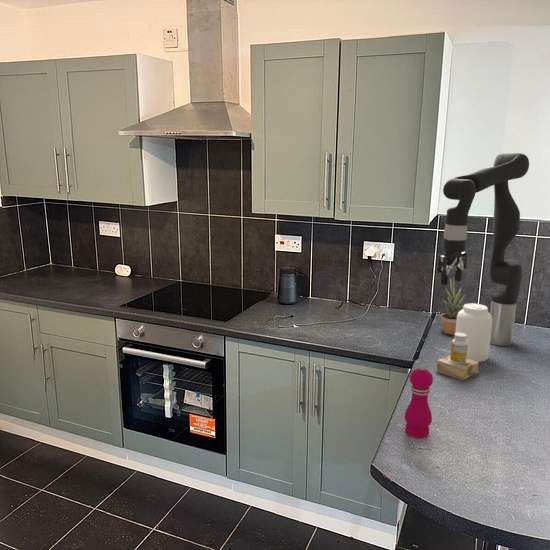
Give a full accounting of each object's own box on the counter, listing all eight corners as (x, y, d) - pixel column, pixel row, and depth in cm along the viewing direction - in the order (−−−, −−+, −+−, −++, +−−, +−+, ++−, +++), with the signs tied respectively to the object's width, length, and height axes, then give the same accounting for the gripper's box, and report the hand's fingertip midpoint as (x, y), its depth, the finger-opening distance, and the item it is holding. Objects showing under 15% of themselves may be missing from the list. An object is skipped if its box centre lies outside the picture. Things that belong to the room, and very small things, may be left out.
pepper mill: (398, 432, 142) (403, 364, 138) (412, 422, 147) (417, 356, 143) (421, 442, 137) (427, 372, 133) (435, 432, 142) (441, 364, 138)
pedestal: (452, 364, 189) (453, 353, 188) (477, 373, 181) (479, 361, 180) (436, 370, 183) (437, 359, 182) (462, 380, 175) (463, 368, 174)
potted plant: (439, 327, 228) (443, 273, 223) (461, 329, 226) (467, 274, 220) (439, 335, 219) (444, 278, 213) (463, 337, 216) (469, 280, 211)
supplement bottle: (453, 356, 185) (455, 330, 182) (468, 360, 181) (471, 334, 179) (447, 361, 181) (450, 334, 178) (463, 365, 177) (465, 338, 175)
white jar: (494, 357, 196) (500, 306, 191) (477, 365, 188) (483, 312, 183) (463, 347, 205) (468, 299, 200) (446, 355, 197) (451, 305, 192)
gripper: (456, 234, 187) (453, 278, 191) (433, 238, 178) (430, 283, 182) (476, 237, 181) (471, 282, 185) (453, 241, 173) (449, 288, 176)
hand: (451, 282), depth 184 cm, fingers open, 8 cm apart
